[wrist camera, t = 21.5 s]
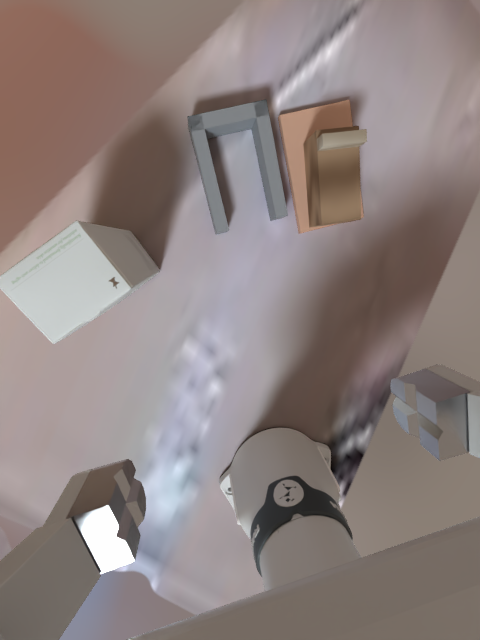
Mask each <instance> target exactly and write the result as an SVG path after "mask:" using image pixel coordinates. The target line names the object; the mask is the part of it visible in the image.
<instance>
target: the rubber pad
mask: <svg viewBox="0 0 480 640" xmlns="http://www.w3.org/2000/svg"><path fill="white" fill-rule="evenodd" d="M278 121H279V127H280V132H281V138H282V143H283V149H284V154H285V160H286V165H287V171H288V176H289V182H290V187H291V193H292V198H293V204H294V209H295V215H296V220H297V226H298V231H299V234H300V233H304V232H308V231H312V230H316V229H320V228H323V227H327V226H331V225H324V226H317V227H310V228H309V216H308V202H307V188H306V174H305V160H304V146H303V144H304V143H305V142H306V140H307V139H308V138H309V137H310V136H311V135H312V134H313V133H314V132H315V131H316V130H323V129H333V128H343V127H352V126H353V124H352V116H351V107H350V100H345V101H341V102H336V103H332V104H327V105H323V106H318V107H314V108H309V109H305V110H300V111H296V112H292V113H287V114H283V115H280V116H279V117H278ZM360 194H361V190H360ZM363 217H364V215H363V207H362V198H361V218H363ZM332 225H335V224H332Z"/></svg>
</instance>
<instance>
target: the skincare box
mask: <svg viewBox="0 0 480 640" xmlns="http://www.w3.org/2000/svg"><path fill="white" fill-rule="evenodd" d="M159 272H160V269H159V268H158V267H157V265H156V264H155V263H154V261H153V260H152V258H151V257H150V256H149V255H148V253H147V252H146V251H145V249H144V248H143V247H142V245H141V244H140V243H139V241H138V240H137V239H136V237H135V236H134V235H133V234H132V232H131V231H129V230H124V229H118V228H113V227H107V226H102V225H97V224H91V223H86V222H81V221H75V222H74V223H72V224H71V225H70V226H68V227H67V228H65V229H64V230H63V231H61V232H60V233H58V234H57V235H56V236H54V237H53V238H51V239H50V240H49V241H47V242H46V243H45V244H43V245H42V246H40V247H39V248H38V249H36V250H35V251H33V252H32V253H31V254H29V255H28V256H26V257H25V258H24V259H22V260H21V261H20V262H18V263H17V264H15V265H14V266H13V267H11V268H10V269H9V270H7V271H6V272H5V273H3V274H2V275H1V276H0V289H1V290H2V291H3V292H4V293H5V294H6V295H7V296H8V297H9V298H10V299H11V301H12V302H13V303H14V304H15V305H16V306H17V307H18V308H19V309H20V310H21V311H22V312H23V313H24V314H25V315H26V316H27V317H28V318H29V319H30V320H31V322H32V323H33V324H34V325H35V326H36V327H37V328H38V329H39V330H40V331H41V332H42V333H43V334H44V335H45V336H46V337H47V338H48V339H49V340H50V341H51V342H52V343H53V344H55V343H57V342H59V341H61V340H62V339H64V338H66V337H67V336H69V335H70V334H72V333H74V332H75V331H77V330H78V329H80V328H81V327H83V326H84V325H86V324H88V323H89V322H91V321H92V320H94V319H95V318H97V317H98V316H100V315H101V314H103V313H105V312H106V311H108V310H109V309H111V308H112V307H113V306H115V305H116V304H118V303H119V302H120V301H122V300H123V299H125V298H126V297H127V296H129V295H130V294H132V293H133V292H134V291H136V290H137V289H138V288H139V287H141V286H142V285H143V284H145V283H146V282H147V281H149V280H150V279H151V278H153V277H154V276H155V275H156V274H158V273H159Z"/></svg>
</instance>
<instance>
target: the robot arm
mask: <svg viewBox="0 0 480 640" xmlns="http://www.w3.org/2000/svg"><path fill="white" fill-rule="evenodd" d="M390 386H391V392H392V393H393V394H394V395H395V396H396V399H395V401H394V402H393V410H394V415H395V417H396V419H397V421H398V423H399V424H400V426H401V427H402V428H403V429H404V430H405V431H406V432H407V433H408V434H409V435H413V436H415V437H419V438H420V443H421V445H422V446H423V447H424V448H425V449H426V450H427V451H429V452H430V453H431V454H432V455H434V456H435V457H436V458H437V459H438V460H439V461H441V460H445V459H448V458H451V457H455V456H458V455H462V454H465V453H468V452H469V453H470V454H471V455H473V456H476V457H478V458H480V382H479V381H477V380H474V379H472V378H470V377H468V376H466V375H464V374H461V373H459V372H457V371H455V370H453V369H450V368H448V367H446V366H444V365H438V364H436V365H433V366H430V367H427V368H425V369H422V370H420V371H417V372H413V373H410V374H407V375H404V376H401V377H398V378H395V379H392V380H391V384H390ZM330 468H331V451H330V449H329V447H328V446H327V445H325V444H323V443H319V442H314V441H312V440H311V439H309V438H308V437H307V436H306V435H304V434H303V433H301V432H299V431H297V430H294V429H290V428H272V429H268V430H264V431H262V432H259V433H257V434H255V435H254V436H252V437H251V438H249V439H248V440H247V441H246V442H245V443H244V444H243V445H242V446H241V447H240V448H239V450H238V451H237V453H236V455H235V457H234V459H233V462H232V464H231V466H230V468H229V469H228V470H227V471H226V472H225V473H224V474H223V475H222V476H221V478H220V480H219V483H220V488H221V490H222V491H223V493H224V494H225V496H226V498H227V499H228V501H229V502H230V504H231V506H232V507H233V509H234V511H235V514H236V519H237V523H238V524H239V525H241V526H242V528H243V530H244V532H245V533H246V534H247V536H248V537H249V538H250V539H251V542H252V552H253V557H254V560H255V563H256V567H257V570H258V572H259V574H260V575H261V577H262V580H263V585H264V591H265V592H262V593H259V594H256V595H253V596H250V597H247V598H244V599H242V600H239V601H236V602H233V603H230V604H227V605H224V606H222V607H219V608H216V609H213V610H210V611H207V612H204V613H201V614H199V615H196V616H193V617H190V618H187V619H184V620H181V621H179V622H176V623H173V624H170V625H167V626H164V627H161V628H158V629H156V630H153V631H150V632H147V633H144V634H141V635H138V636H136V637H133V638H130V639H127V640H480V517H477V518H474V519H472V520H469V521H466V522H463V523H460V524H457V525H454V526H451V527H449V528H446V529H443V530H440V531H437V532H434V533H431V534H428V535H425V536H423V537H420V538H417V539H414V540H411V541H408V542H405V543H403V544H400V545H397V546H394V547H391V548H388V549H385V550H383V551H380V552H377V553H374V554H371V555H368V556H365V557H361V556H360V554H359V552H358V551H357V549H356V547H355V545H354V543H353V541H352V533H351V530H350V528H349V526H348V524H347V520H346V518H345V516H344V514H343V512H342V511H341V510H340V506H339V504H338V502H339V501H340V500H341V497H340V494H339V492H340V488H339V485H338V483H337V481H336V479H335V477H334V475H333V473H332V471H331V470H330ZM135 471H136V469H135V467H134V465H133V463H132V461H131V460H129V459H126V460H122V461H118V462H115V463H111V464H108V465H104V466H101V467H97V468H94V469H90V470H87V471H83V472H80V473H77V474H75V475H74V476H72V477H71V479H70V481H69V482H68V484H67V486H66V488H65V489H64V491H63V493H62V494H61V496H60V498H59V500H58V501H57V503H56V505H55V506H54V508H53V510H52V512H51V513H50V515H49V517H48V518H47V520H46V522H45V523H44V525H43V527H40V528H37V529H35V530H34V531H33V532H32V533H31V534H30V535H29V536H28V537H27V538H25V539H24V540H23V541H22V542H21V543H20V544H19V545H17V546H16V547H15V548H14V549H13V550H12V551H11V552H10V553H9V554H7V555H6V556H5V557H4V558H3V559H2V560H1V561H0V640H59V639H60V637H61V636H62V634H63V633H64V631H65V630H66V628H67V627H68V625H69V623H70V622H71V621H72V619H73V618H74V616H75V614H76V613H77V611H78V610H79V608H80V607H81V605H82V604H83V602H84V601H85V599H86V598H87V596H88V595H89V593H90V592H91V590H92V589H93V587H94V586H95V584H96V583H97V581H98V579H99V578H100V576H101V575H100V574H101V573H104V572H107V571H109V570H112V569H115V568H118V567H120V566H123V565H126V564H129V563H131V562H134V561H135V558H136V553H137V549H138V544H139V540H140V533H139V530H138V526H139V525H140V524H141V522H142V521H143V520H144V516H145V511H146V497H145V492H144V488H143V486H142V483H141V482H140V481H138V480H136V479H135V478H134V475H135ZM230 487H231V488H230Z"/></svg>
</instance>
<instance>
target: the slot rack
mask: <svg viewBox="0 0 480 640" xmlns="http://www.w3.org/2000/svg"><path fill="white" fill-rule="evenodd" d="M188 127H189V132H190V136H191V140H192V144H193V148H194V151H195V155H196V159H197V163H198V167H199V171H200V175H201V179H202V183H203V187H204V190H205V194H206V198H207V202H208V206H209V210H210V214H211V218H212V222H213V226H214V229H215V233H216V234H220V233H224V232H227V231H228V230H229V228H228V224H227V219H226V215H225V211H224V207H223V203H222V199H221V195H220V191H219V187H218V182H217V178H216V174H215V170H214V166H213V162H212V158H211V154H210V150H209V145H208V141H207V139H209V138H213V137H217V136H222V135H226V134H231V133H235V132H240V131H244V130H249V129H252V133H253V138H254V143H255V148H256V153H257V157H258V162H259V167H260V172H261V177H262V182H263V187H264V192H265V197H266V201H267V206H268V211H269V216H270V221H272V220H276V219H280V218H283V217H285V216H288V213H287V207H286V202H285V197H284V192H283V186H282V181H281V176H280V170H279V165H278V160H277V154H276V149H275V144H274V138H273V133H272V128H271V122H270V117H269V112H268V106H267V101H266V100H261V101H257V102H252V103H248V104H243V105H238V106H234V107H229V108H225V109H220V110H215V111H211V112H206V113H202V114H197V115H192V116H188Z"/></svg>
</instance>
